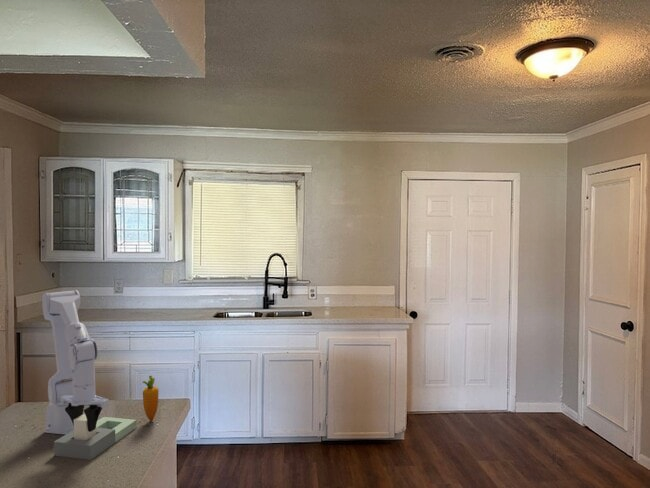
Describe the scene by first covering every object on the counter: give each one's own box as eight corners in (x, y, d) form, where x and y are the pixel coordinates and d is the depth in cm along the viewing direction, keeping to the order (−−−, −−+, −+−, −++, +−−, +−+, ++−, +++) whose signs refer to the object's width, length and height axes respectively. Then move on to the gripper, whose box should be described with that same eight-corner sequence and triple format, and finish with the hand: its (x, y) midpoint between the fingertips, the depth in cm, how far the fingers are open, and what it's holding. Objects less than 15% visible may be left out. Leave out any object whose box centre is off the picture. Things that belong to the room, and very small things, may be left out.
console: (91, 459, 121) (90, 445, 120) (54, 455, 123) (53, 441, 123) (136, 427, 140) (136, 415, 140) (103, 424, 143) (103, 412, 142)
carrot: (153, 425, 142) (152, 379, 141) (140, 423, 143) (139, 378, 142) (162, 418, 147) (161, 374, 146) (149, 417, 148) (148, 373, 147)
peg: (74, 440, 125) (73, 419, 125) (84, 433, 129) (84, 413, 129) (86, 441, 124) (85, 420, 124) (96, 435, 128) (95, 414, 128)
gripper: (51, 386, 124) (52, 433, 124) (95, 390, 121) (96, 438, 121) (70, 378, 131) (71, 422, 131) (113, 381, 128) (114, 426, 128)
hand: (85, 429), depth 127 cm, fingers closed on peg, 4 cm apart
